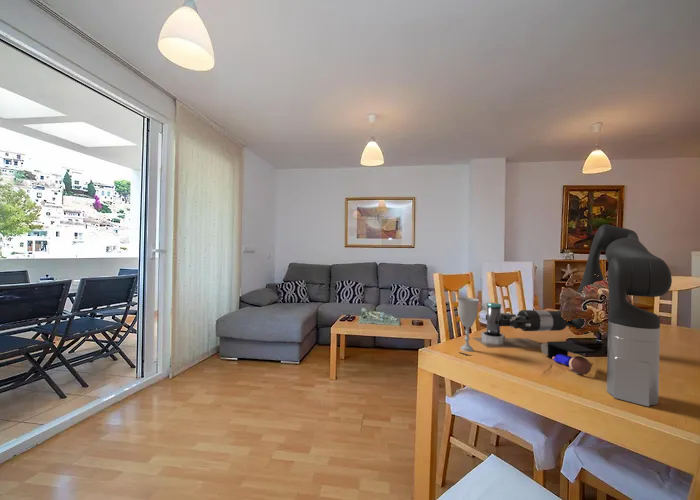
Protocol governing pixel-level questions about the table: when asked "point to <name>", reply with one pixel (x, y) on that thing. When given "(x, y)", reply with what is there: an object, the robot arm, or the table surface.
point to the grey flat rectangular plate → (514, 343)
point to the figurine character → (560, 354)
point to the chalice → (467, 318)
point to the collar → (493, 339)
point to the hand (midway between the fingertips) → (491, 320)
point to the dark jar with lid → (493, 319)
